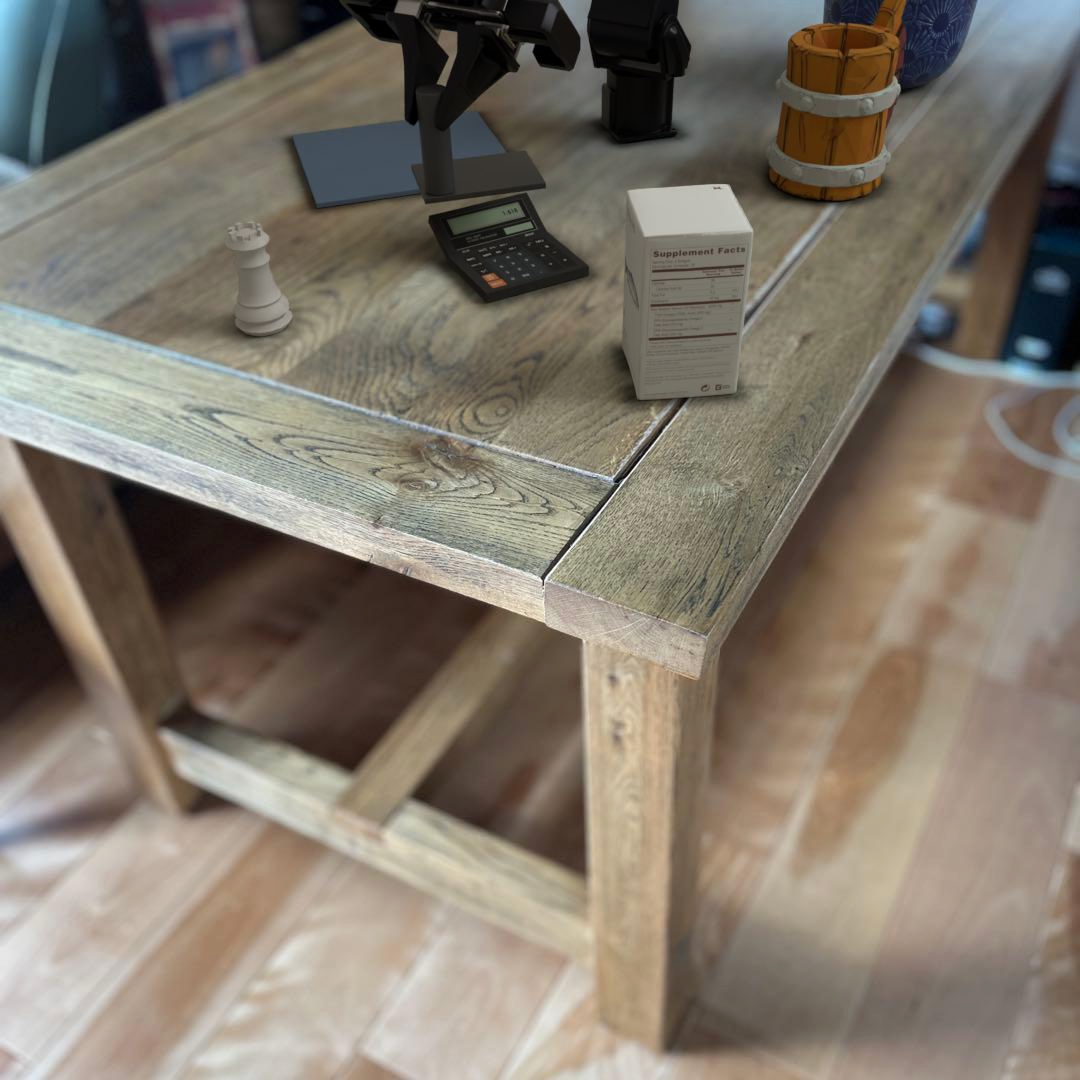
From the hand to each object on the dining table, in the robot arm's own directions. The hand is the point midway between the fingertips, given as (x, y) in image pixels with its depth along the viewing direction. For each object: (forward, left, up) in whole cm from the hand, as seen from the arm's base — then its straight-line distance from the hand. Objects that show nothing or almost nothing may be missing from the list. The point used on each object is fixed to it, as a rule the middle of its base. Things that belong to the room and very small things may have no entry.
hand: (423, 125), depth 85 cm
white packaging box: (-13, +21, -13) cm, 28 cm away
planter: (-59, -29, -13) cm, 67 cm away
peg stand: (-5, -3, -6) cm, 8 cm away
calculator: (-6, 0, -13) cm, 14 cm away
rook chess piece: (+15, +4, -13) cm, 20 cm away
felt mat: (-2, -25, -12) cm, 28 cm away
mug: (-41, -8, -13) cm, 44 cm away
